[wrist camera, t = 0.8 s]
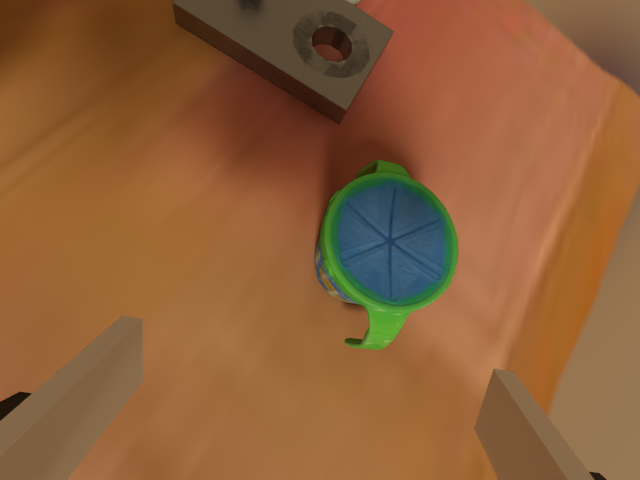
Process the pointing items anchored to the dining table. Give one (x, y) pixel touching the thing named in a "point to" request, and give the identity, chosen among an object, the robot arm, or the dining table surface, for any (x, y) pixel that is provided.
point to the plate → (293, 44)
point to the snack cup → (385, 249)
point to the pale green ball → (354, 1)
